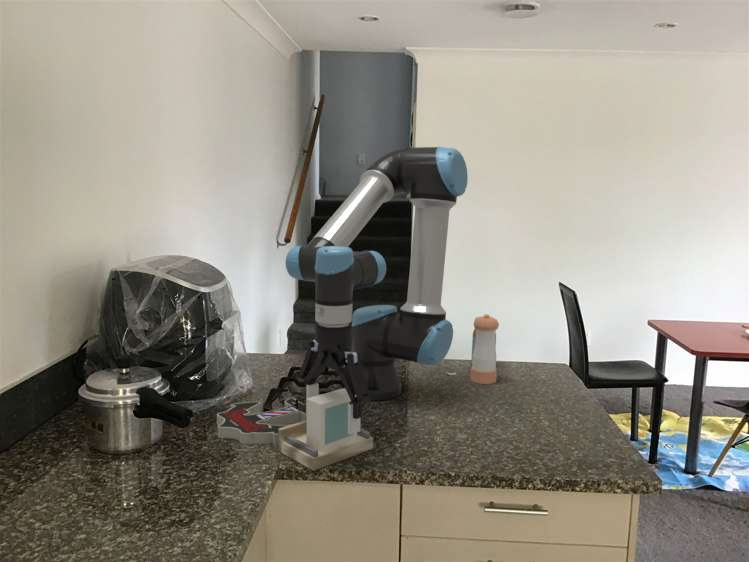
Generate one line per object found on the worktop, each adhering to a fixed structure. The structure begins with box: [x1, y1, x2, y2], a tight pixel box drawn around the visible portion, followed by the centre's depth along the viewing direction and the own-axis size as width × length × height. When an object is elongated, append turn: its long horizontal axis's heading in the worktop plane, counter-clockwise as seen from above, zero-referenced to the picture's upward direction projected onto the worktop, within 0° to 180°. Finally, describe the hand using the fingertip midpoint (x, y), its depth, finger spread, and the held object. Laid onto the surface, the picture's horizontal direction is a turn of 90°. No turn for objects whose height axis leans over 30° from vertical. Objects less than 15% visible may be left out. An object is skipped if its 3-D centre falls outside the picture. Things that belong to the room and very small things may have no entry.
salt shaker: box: [470, 314, 500, 385], centre depth 188 cm, size 7×7×19 cm
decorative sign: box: [216, 397, 307, 446], centre depth 155 cm, size 22×3×30 cm
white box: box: [307, 387, 357, 452], centre depth 138 cm, size 5×10×10 cm, turn 134°
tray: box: [277, 420, 374, 472], centre depth 140 cm, size 12×16×5 cm
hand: (332, 422), depth 138 cm, fingers open, 13 cm apart
